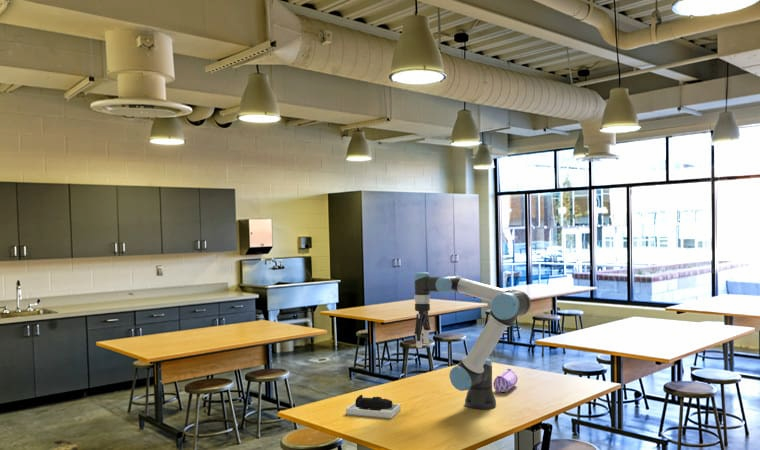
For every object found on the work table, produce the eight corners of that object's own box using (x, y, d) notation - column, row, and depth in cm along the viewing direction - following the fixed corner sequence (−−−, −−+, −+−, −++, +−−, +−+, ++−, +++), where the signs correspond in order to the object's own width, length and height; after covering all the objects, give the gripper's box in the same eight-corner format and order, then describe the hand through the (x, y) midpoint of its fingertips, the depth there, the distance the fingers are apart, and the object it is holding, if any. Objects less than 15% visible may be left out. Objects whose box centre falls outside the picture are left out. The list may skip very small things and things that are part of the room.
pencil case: (502, 384, 338) (501, 367, 339) (518, 385, 335) (518, 368, 335) (492, 393, 318) (492, 375, 319) (510, 395, 314) (509, 377, 315)
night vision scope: (391, 417, 281) (387, 408, 274) (356, 415, 286) (350, 406, 279) (394, 402, 286) (389, 392, 279) (359, 400, 291) (353, 390, 284)
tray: (400, 410, 287) (400, 404, 287) (391, 419, 273) (391, 412, 273) (357, 406, 294) (357, 400, 294) (345, 414, 281) (345, 408, 281)
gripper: (421, 300, 315) (422, 340, 314) (408, 305, 291) (408, 349, 291) (435, 300, 312) (436, 341, 312) (423, 305, 289) (423, 349, 288)
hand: (422, 345), depth 301 cm, fingers open, 13 cm apart
